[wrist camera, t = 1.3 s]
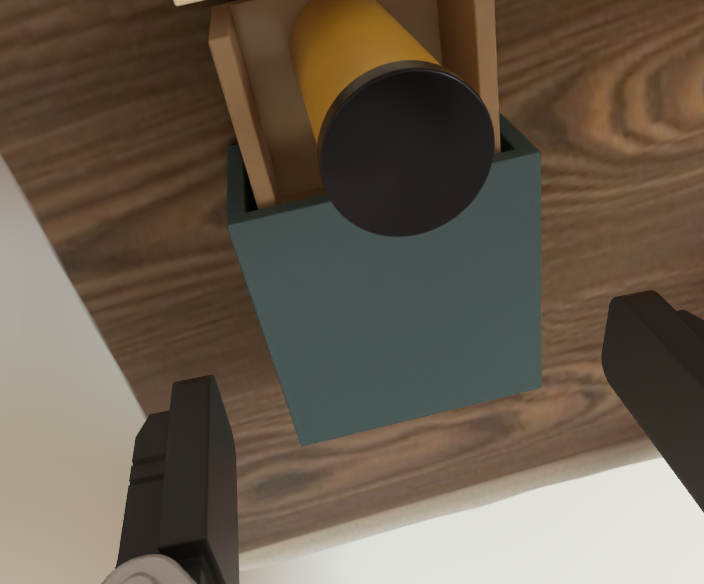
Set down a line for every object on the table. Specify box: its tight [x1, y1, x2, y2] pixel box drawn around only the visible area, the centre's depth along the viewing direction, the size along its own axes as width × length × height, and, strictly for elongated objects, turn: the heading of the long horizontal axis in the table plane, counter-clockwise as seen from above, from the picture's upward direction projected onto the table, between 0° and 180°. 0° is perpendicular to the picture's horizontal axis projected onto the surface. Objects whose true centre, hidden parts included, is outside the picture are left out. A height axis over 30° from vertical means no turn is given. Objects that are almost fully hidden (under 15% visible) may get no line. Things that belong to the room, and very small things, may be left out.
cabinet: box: [227, 112, 541, 446], centre depth 33 cm, size 14×13×9 cm
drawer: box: [173, 0, 501, 210], centre depth 26 cm, size 17×12×7 cm
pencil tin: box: [290, 0, 495, 237], centre depth 23 cm, size 5×5×13 cm
